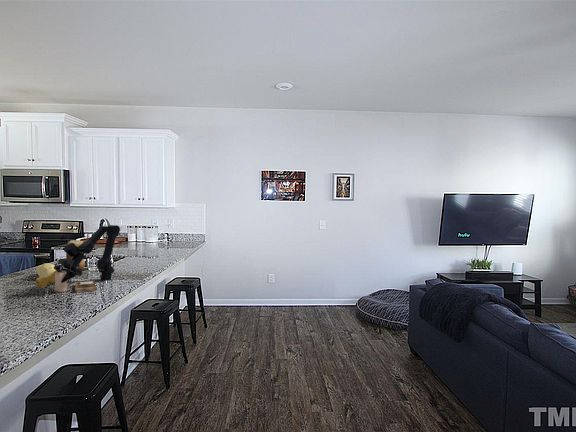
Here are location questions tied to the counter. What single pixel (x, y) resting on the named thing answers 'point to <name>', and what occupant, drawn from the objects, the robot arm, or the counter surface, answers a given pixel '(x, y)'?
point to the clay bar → (58, 284)
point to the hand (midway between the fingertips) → (58, 282)
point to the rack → (85, 287)
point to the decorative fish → (46, 280)
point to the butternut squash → (72, 256)
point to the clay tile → (86, 282)
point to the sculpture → (45, 270)
